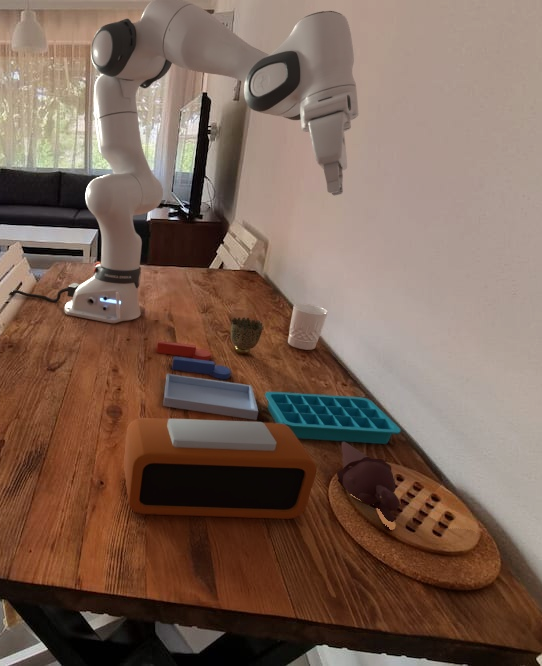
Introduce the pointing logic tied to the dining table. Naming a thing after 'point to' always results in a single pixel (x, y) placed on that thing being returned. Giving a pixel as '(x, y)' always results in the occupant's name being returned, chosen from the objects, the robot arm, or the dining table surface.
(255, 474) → the alarm clock
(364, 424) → the ice cube tray
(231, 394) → the blue tray
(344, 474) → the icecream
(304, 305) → the white cup
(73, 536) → the dining table surface
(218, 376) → the blue spoon
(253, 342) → the cup
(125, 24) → the robot arm
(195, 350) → the red spoon
